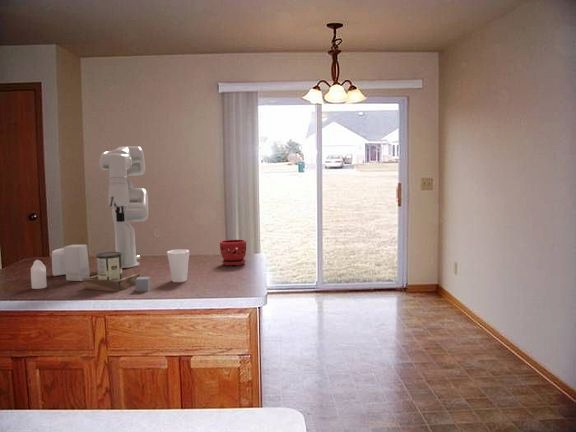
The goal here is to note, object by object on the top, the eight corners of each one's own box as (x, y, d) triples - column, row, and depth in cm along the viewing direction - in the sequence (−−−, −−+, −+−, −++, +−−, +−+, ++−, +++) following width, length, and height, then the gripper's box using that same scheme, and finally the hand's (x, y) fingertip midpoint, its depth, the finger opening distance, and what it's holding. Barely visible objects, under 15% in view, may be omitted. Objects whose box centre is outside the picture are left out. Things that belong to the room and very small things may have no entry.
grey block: (138, 288, 241) (138, 276, 241) (150, 288, 242) (150, 276, 241) (136, 291, 236) (135, 279, 236) (148, 291, 237) (147, 279, 236)
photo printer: (74, 272, 277) (73, 246, 276) (76, 273, 274) (75, 247, 272) (51, 275, 271) (50, 248, 270) (53, 276, 268) (52, 250, 266)
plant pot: (251, 263, 292) (251, 239, 290) (236, 267, 281) (235, 243, 280) (231, 260, 299) (230, 237, 297) (215, 265, 288) (214, 241, 286)
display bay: (107, 280, 257) (106, 271, 257) (140, 282, 252) (139, 273, 251) (83, 288, 242) (83, 279, 242) (118, 291, 237) (117, 281, 236)
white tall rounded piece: (43, 257, 249) (46, 259, 245) (45, 285, 250) (48, 287, 246) (28, 259, 246) (31, 261, 241) (30, 287, 247) (33, 289, 242)
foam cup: (171, 283, 249) (170, 254, 247) (165, 279, 257) (164, 250, 255) (193, 281, 253) (192, 251, 251) (186, 277, 261) (185, 248, 260)
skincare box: (90, 278, 262) (88, 244, 260) (80, 281, 256) (78, 246, 254) (74, 277, 265) (72, 243, 263) (65, 280, 259) (62, 246, 257)
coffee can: (109, 283, 252) (107, 251, 251) (128, 284, 248) (126, 252, 247) (92, 288, 243) (90, 255, 242) (111, 290, 239) (109, 256, 237)
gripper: (121, 180, 271) (123, 219, 273) (101, 182, 257) (103, 223, 259) (135, 180, 269) (137, 219, 271) (115, 182, 255) (117, 223, 257)
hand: (120, 221), depth 265 cm, fingers closed
